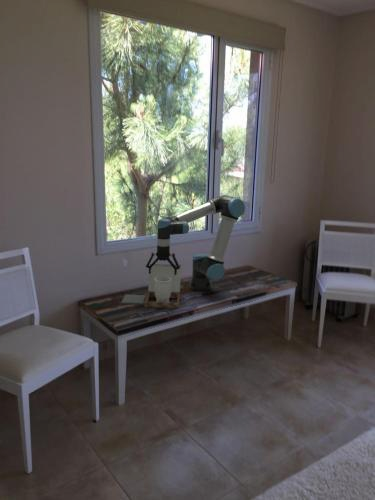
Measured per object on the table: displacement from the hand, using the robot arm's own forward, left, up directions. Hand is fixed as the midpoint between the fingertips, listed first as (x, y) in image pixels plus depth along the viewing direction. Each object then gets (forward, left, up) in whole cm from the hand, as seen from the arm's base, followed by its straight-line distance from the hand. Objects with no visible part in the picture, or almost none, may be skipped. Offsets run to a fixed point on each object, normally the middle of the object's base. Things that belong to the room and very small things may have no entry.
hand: (162, 279), depth 251 cm
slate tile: (+18, -1, -15) cm, 23 cm away
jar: (0, 0, -15) cm, 15 cm away
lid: (0, -11, -3) cm, 11 cm away
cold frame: (0, 0, -15) cm, 15 cm away
